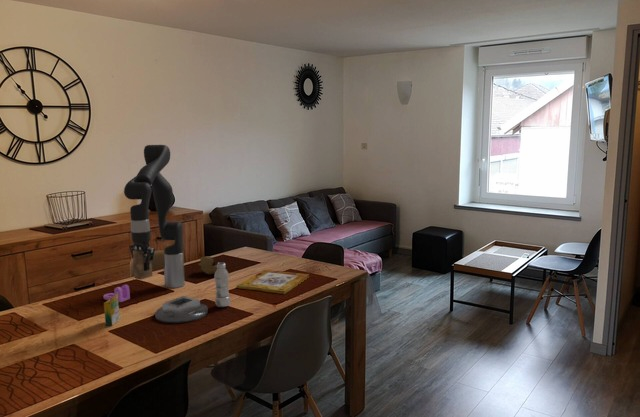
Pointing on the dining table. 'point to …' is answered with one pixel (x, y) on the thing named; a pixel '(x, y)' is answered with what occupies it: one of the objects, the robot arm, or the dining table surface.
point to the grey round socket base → (181, 310)
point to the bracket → (119, 293)
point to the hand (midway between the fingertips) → (143, 269)
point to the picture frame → (273, 281)
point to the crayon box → (111, 311)
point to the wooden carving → (208, 265)
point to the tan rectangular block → (140, 266)
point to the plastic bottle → (222, 286)
